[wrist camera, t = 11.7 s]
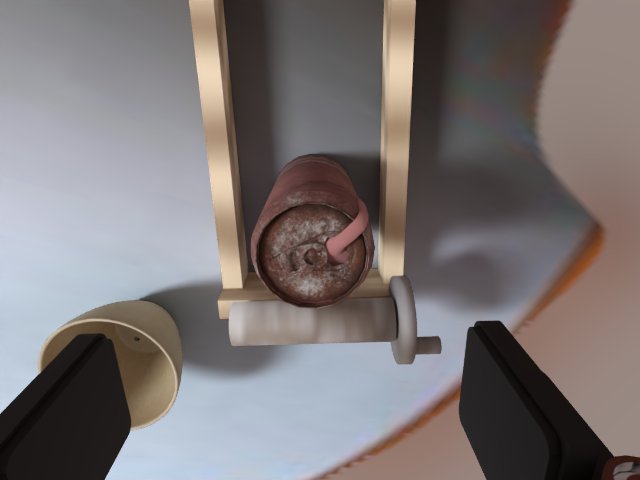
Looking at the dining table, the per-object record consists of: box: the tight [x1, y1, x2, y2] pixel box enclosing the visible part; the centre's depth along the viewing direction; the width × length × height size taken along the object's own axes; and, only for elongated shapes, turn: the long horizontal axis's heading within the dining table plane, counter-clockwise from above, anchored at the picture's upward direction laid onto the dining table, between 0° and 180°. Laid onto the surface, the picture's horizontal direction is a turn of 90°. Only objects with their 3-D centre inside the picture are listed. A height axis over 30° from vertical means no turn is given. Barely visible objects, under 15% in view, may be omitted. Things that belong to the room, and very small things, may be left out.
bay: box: [189, 0, 441, 364], centre depth 26 cm, size 28×16×10 cm, turn 2°
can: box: [251, 154, 375, 309], centre depth 26 cm, size 6×6×14 cm
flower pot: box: [38, 300, 183, 431], centre depth 33 cm, size 10×10×7 cm
